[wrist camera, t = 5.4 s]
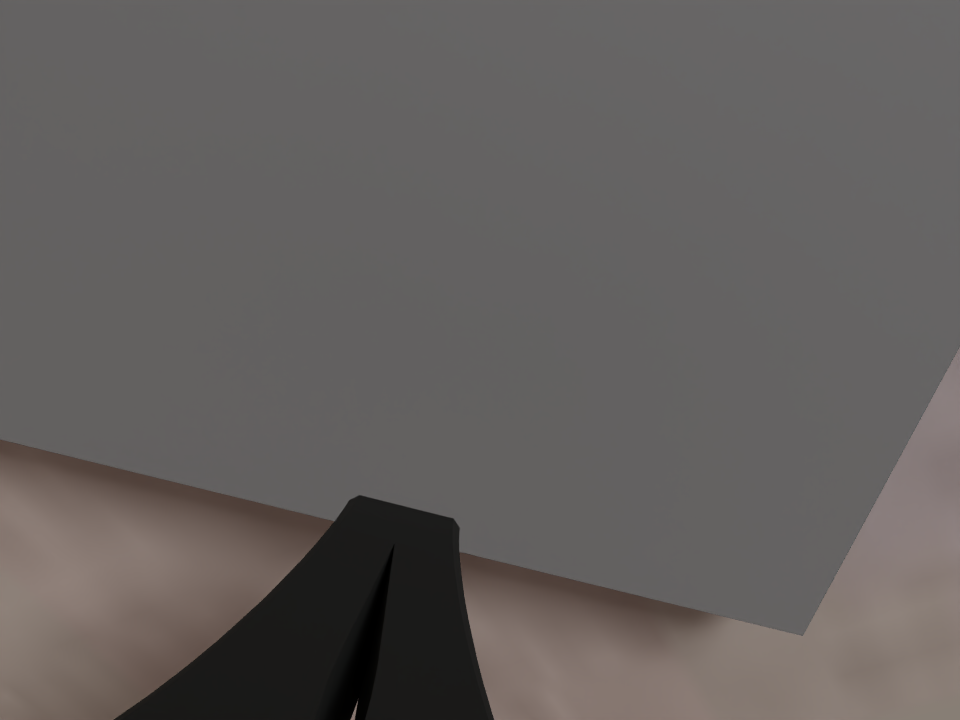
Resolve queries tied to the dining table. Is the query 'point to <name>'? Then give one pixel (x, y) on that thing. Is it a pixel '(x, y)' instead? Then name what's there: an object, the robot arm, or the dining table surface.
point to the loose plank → (494, 267)
